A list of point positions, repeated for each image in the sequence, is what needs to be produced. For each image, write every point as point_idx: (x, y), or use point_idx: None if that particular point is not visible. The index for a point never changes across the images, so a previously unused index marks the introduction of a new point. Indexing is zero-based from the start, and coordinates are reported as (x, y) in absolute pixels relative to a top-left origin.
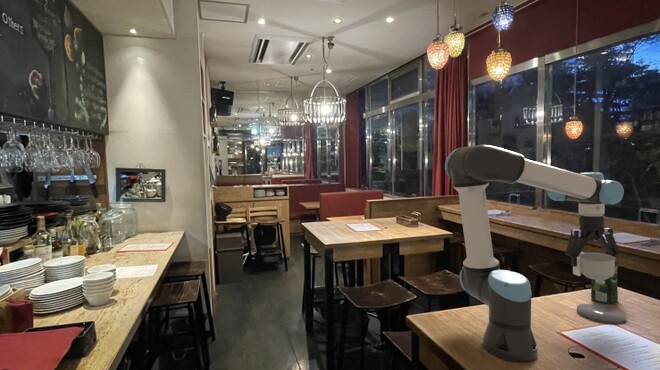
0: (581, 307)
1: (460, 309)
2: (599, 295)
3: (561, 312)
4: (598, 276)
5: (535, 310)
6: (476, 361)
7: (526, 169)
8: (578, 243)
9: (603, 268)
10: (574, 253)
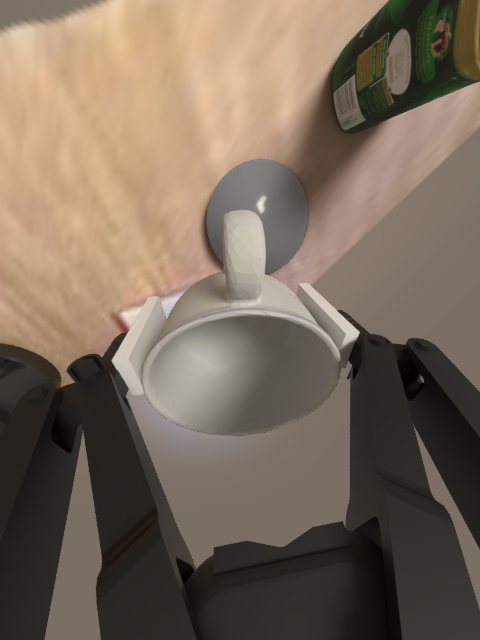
0: (225, 196)
1: None
2: (347, 101)
3: (162, 204)
4: (212, 366)
5: (82, 183)
6: None
7: None
8: (105, 507)
9: (227, 399)
10: (110, 391)
